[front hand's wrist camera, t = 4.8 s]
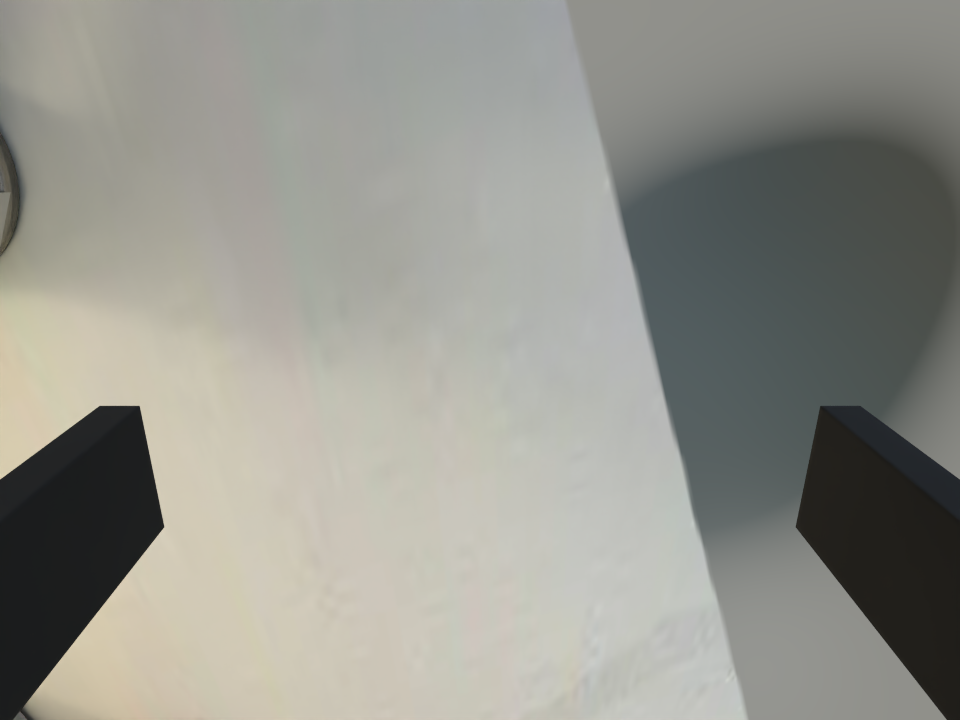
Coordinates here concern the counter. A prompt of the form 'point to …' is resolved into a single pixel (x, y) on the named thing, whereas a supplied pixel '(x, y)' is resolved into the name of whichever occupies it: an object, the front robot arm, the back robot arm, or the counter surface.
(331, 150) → the counter surface
